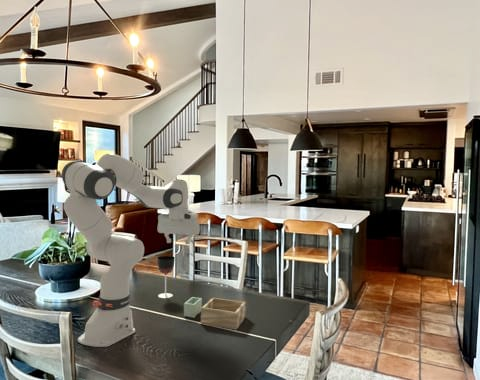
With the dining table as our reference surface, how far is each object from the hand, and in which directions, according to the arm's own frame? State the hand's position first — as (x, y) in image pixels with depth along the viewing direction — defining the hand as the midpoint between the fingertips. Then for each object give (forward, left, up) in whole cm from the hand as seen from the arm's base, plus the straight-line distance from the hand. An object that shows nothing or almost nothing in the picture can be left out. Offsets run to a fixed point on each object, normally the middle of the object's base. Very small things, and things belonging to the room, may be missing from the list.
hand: (178, 243), depth 174 cm
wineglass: (+15, +14, -32) cm, 38 cm away
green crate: (-2, -9, -32) cm, 33 cm away
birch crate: (-5, -25, -32) cm, 40 cm away
